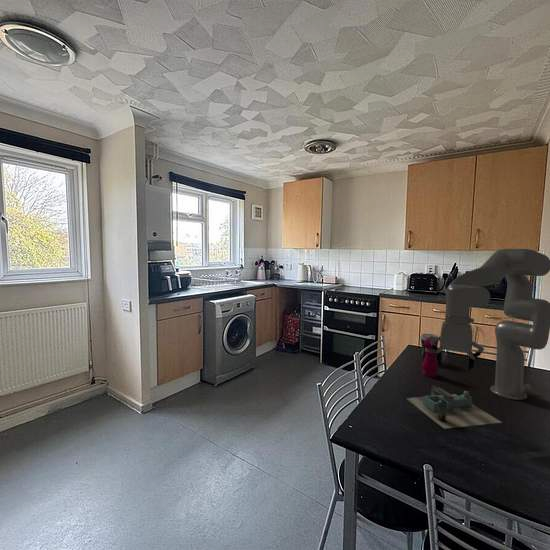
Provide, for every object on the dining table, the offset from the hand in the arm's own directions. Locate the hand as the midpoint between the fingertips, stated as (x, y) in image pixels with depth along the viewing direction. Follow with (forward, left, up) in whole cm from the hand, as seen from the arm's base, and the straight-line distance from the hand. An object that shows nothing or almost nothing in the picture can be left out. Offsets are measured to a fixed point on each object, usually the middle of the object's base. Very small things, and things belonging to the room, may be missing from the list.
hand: (454, 366), depth 112 cm
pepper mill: (-18, -36, -19) cm, 45 cm away
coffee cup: (-30, -53, -19) cm, 64 cm away
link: (-3, -5, -18) cm, 18 cm away
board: (-1, -2, -19) cm, 19 cm away
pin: (+7, +4, -18) cm, 20 cm away
